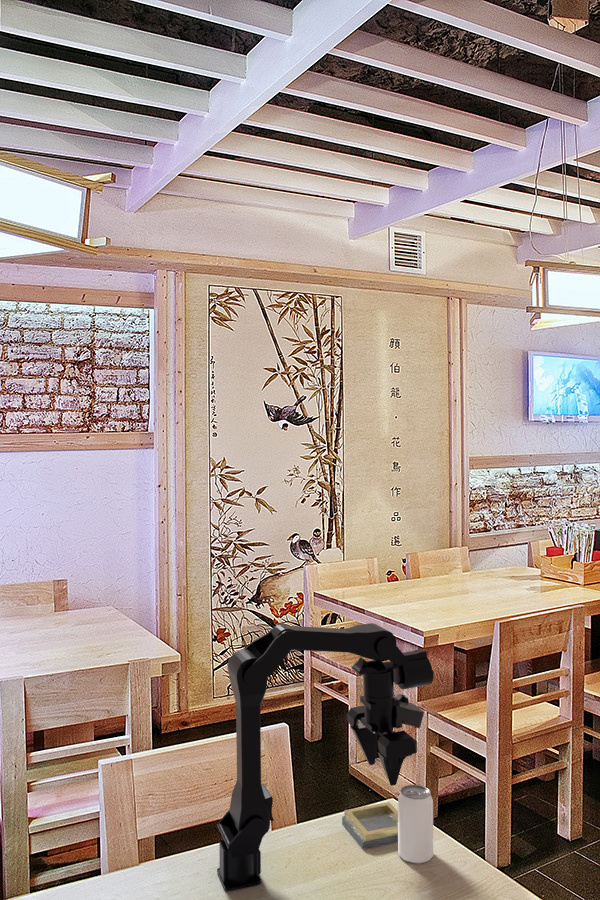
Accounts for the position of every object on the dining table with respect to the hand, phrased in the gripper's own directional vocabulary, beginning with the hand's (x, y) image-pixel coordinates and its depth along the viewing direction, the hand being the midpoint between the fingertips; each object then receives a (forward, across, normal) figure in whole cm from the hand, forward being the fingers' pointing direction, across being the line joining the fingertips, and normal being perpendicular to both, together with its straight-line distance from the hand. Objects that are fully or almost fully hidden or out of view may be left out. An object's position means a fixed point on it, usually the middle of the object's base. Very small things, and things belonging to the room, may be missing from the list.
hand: (382, 774), depth 143 cm
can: (+15, -4, -4) cm, 16 cm away
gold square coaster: (+14, +6, -1) cm, 16 cm away
